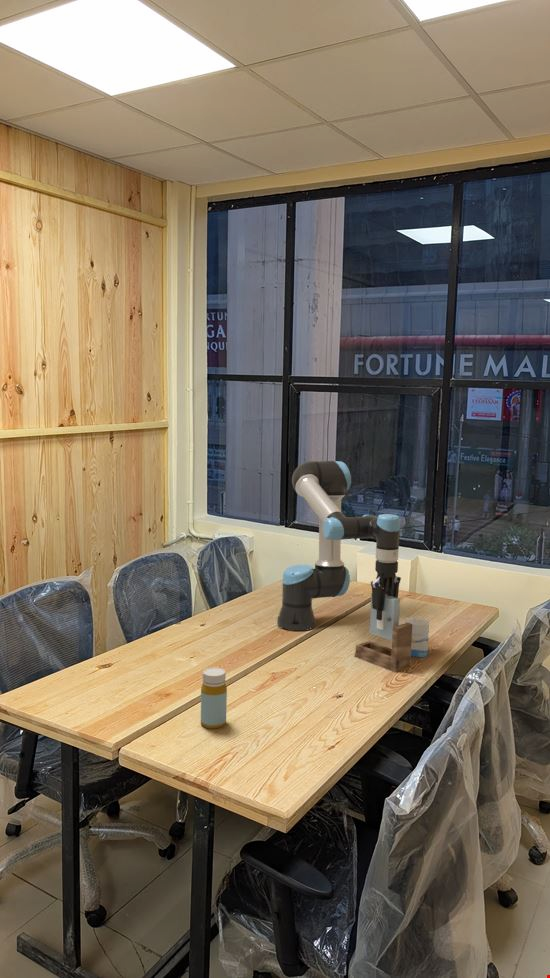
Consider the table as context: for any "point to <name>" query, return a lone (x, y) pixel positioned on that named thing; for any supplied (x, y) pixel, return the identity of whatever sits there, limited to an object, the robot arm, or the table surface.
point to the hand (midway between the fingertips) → (383, 627)
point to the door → (386, 617)
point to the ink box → (419, 636)
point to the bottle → (213, 698)
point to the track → (389, 650)
